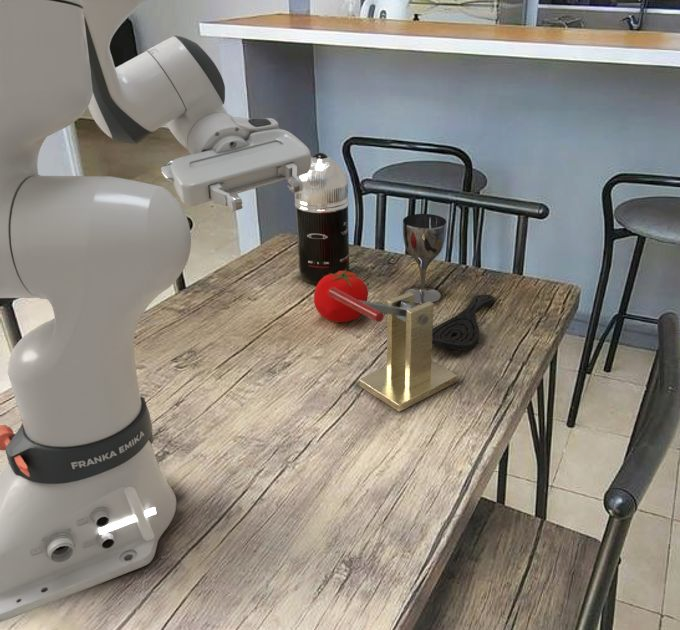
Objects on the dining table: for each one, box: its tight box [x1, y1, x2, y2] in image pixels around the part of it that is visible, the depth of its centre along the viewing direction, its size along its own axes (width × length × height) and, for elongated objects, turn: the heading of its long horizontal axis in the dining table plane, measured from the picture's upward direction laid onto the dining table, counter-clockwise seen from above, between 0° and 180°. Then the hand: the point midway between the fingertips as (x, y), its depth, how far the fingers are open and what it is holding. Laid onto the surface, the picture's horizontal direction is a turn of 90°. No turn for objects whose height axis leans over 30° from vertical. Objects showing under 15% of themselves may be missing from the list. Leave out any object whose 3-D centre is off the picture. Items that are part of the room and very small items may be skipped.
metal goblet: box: [402, 213, 447, 305], centre depth 127 cm, size 8×8×15 cm
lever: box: [328, 287, 418, 323], centre depth 93 cm, size 13×10×2 cm
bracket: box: [358, 292, 459, 413], centre depth 100 cm, size 12×9×14 cm
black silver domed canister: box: [294, 152, 350, 285], centre depth 131 cm, size 10×10×25 cm
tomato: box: [313, 270, 369, 323], centre depth 120 cm, size 9×10×8 cm
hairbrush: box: [432, 294, 495, 351], centre depth 119 cm, size 8×4×25 cm
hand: (268, 196), depth 95 cm, fingers open, 8 cm apart
